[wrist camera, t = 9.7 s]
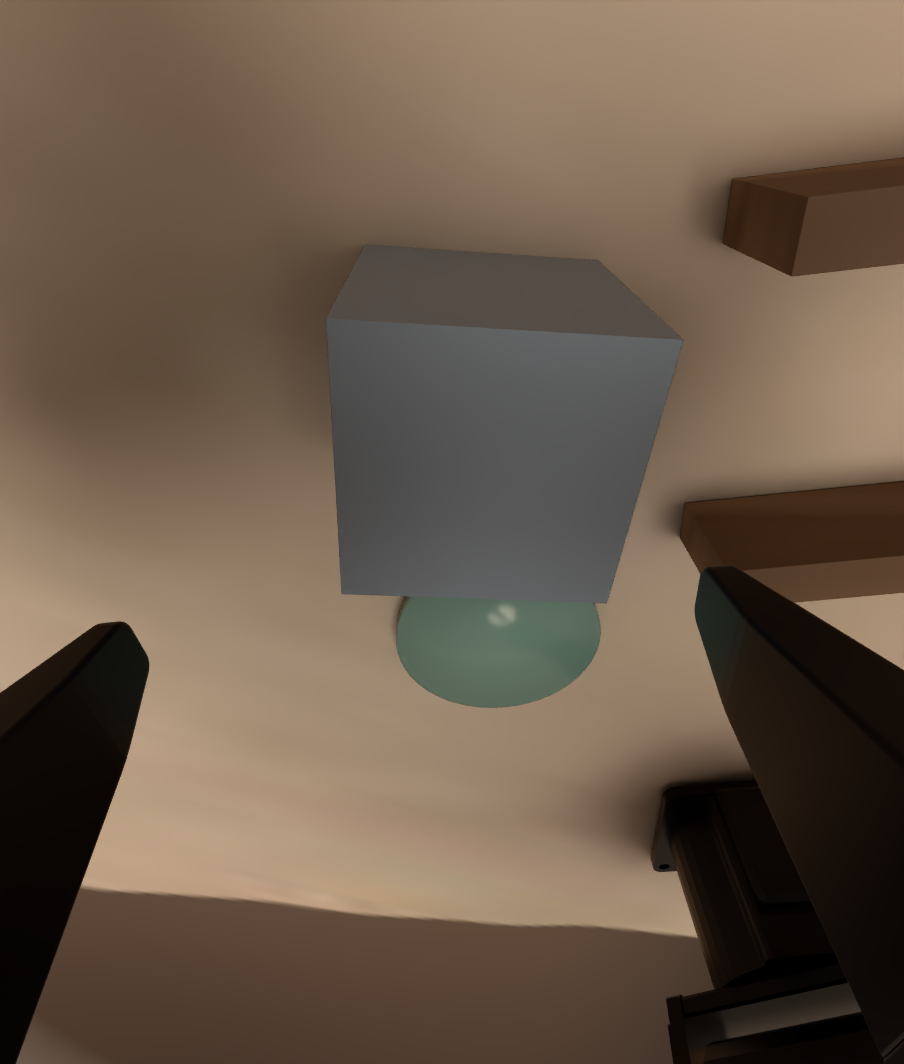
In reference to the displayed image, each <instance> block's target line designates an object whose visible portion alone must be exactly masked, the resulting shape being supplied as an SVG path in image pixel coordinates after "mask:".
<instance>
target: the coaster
mask: <svg viewBox="0 0 904 1064" xmlns="http://www.w3.org/2000/svg"><path fill="white" fill-rule="evenodd" d="M600 634H601V631H600V621H599V616H598V613H597V610H596V606H595V603H583V602H554V601H526V600H498V599H469V598H441V597H412V596H407V597H406V598H405V600H404V602H403V604H402V607H401V609H400V613H399V617H398V625H397V641H396V643H397V650H398V654H399V657H400V660H401V662H402V664H403V666H404V668H405V669H406V671H407V672H408V673H409V675H410V676H411V677H412V678H413V679H414V680H415V681H416V682H417V683H418V684H419V685H421V686H422V687H423V688H425V689H426V690H427V691H429V692H431V693H433V694H434V695H436V696H439V697H441V698H443V699H445V700H448V701H451V702H455V703H458V704H463V705H467V706H474V707H486V708H497V707H510V706H517V705H522V704H526V703H530V702H533V701H537V700H540V699H542V698H545V697H547V696H550V695H552V694H554V693H555V692H557V691H559V690H561V689H563V688H564V687H566V686H567V685H569V684H570V683H571V682H573V681H574V680H575V679H576V678H577V677H578V676H579V675H580V674H581V673H582V672H583V671H584V670H585V669H586V668H587V666H588V665H589V664H590V662H591V661H592V659H593V657H594V655H595V653H596V651H597V648H598V645H599V641H600Z"/></svg>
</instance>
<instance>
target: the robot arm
mask: <svg viewBox="0 0 904 1064" xmlns="http://www.w3.org/2000/svg"><path fill="white" fill-rule="evenodd" d="M695 618H696V623H697V626H698V629H699V632H700V635H701V638H702V642H703V645H704V648H705V651H706V654H707V657H708V660H709V663H710V667H711V670H712V673H713V676H714V679H715V682H716V685H717V689H718V692H719V695H720V698H721V701H722V704H723V706H724V709H725V712H726V714H727V717H728V719H729V721H730V724H731V726H732V728H733V730H734V733H735V735H736V737H737V739H738V741H739V744H740V746H741V748H742V750H743V752H744V755H745V757H746V759H747V761H748V763H749V766H750V768H751V770H752V772H753V774H754V777H755V779H756V780H755V781H743V782H730V783H717V784H704V785H691V786H678V787H671V788H669V789H667V790H665V791H664V792H663V794H662V800H661V805H660V811H659V816H658V822H657V827H656V833H655V838H654V844H653V849H652V855H651V862H652V865H653V869H654V870H655V871H658V872H669V871H677V872H678V876H679V879H680V882H681V885H682V888H683V892H684V895H685V898H686V901H687V904H688V907H689V911H690V914H691V917H692V920H693V923H694V927H695V930H696V933H697V936H698V939H699V942H700V945H701V949H702V952H703V955H704V958H705V961H706V964H707V968H708V971H709V974H710V977H711V980H712V984H713V987H714V990H710V991H706V992H702V993H697V994H693V995H689V996H684V997H683V996H682V995H680V994H679V995H675V996H671V997H667V998H666V1001H667V1008H668V1015H669V1021H670V1023H669V1024H668V1030H669V1036H670V1044H671V1050H672V1057H673V1064H904V670H903V669H901V668H899V667H898V666H896V665H895V664H893V663H891V662H890V661H888V660H886V659H885V658H883V657H882V656H880V655H878V654H877V653H875V652H873V651H872V650H870V649H869V648H867V647H865V646H864V645H862V644H860V643H859V642H857V641H856V640H854V639H852V638H851V637H849V636H847V635H846V634H844V633H843V632H841V631H839V630H838V629H836V628H834V627H833V626H831V625H830V624H828V623H826V622H825V621H823V620H821V619H820V618H818V617H817V616H815V615H813V614H812V613H810V612H808V611H807V610H805V609H804V608H802V607H800V606H799V605H797V604H795V603H794V602H792V601H791V600H789V599H787V598H786V597H784V596H782V595H781V594H779V593H778V592H776V591H774V590H773V589H771V588H769V587H768V586H766V585H765V584H763V583H761V582H760V581H758V580H756V579H755V578H753V577H752V576H750V575H748V574H747V573H745V572H743V571H742V570H740V569H739V568H737V567H735V566H733V565H718V566H708V567H705V568H704V569H703V570H702V572H701V575H700V580H699V586H698V591H697V597H696V602H695ZM148 673H149V660H148V656H147V654H146V652H145V651H144V649H143V647H142V646H141V644H140V642H139V640H138V639H137V637H136V635H135V634H134V632H133V630H132V629H131V627H130V626H129V625H128V624H127V623H125V622H120V621H119V622H109V623H101V624H97V625H95V626H93V627H92V628H91V629H89V630H88V631H86V632H85V633H84V634H82V635H81V636H79V637H78V638H77V639H75V640H74V641H72V642H71V643H70V644H68V645H67V646H65V647H64V648H63V649H61V650H60V651H58V652H57V653H56V654H54V655H53V656H51V657H50V658H49V659H47V660H46V661H44V662H43V663H42V664H40V665H39V666H37V667H36V668H35V669H33V670H32V671H30V672H29V673H28V674H26V675H25V676H23V677H22V678H21V679H19V680H18V681H16V682H15V683H14V684H12V685H11V686H9V687H8V688H6V689H5V690H4V691H2V692H1V693H0V1064H16V1062H17V1059H18V1056H19V1053H20V1051H21V1048H22V1045H23V1043H24V1040H25V1037H26V1034H27V1031H28V1029H29V1026H30V1023H31V1021H32V1018H33V1015H34V1012H35V1010H36V1007H37V1004H38V1001H39V998H40V996H41V993H42V990H43V988H44V985H45V982H46V980H47V977H48V974H49V971H50V969H51V965H52V963H53V960H54V957H55V955H56V952H57V949H58V947H59V944H60V941H61V938H62V936H63V933H64V930H65V927H66V925H67V922H68V919H69V916H70V914H71V911H72V908H73V906H74V903H75V900H76V897H77V895H78V892H79V889H80V886H81V884H82V881H83V878H84V875H85V873H86V870H87V867H88V864H89V862H90V859H91V856H92V853H93V851H94V848H95V845H96V843H97V840H98V837H99V834H100V832H101V829H102V826H103V823H104V821H105V818H106V815H107V812H108V810H109V807H110V804H111V801H112V799H113V796H114V793H115V790H116V788H117V785H118V782H119V780H120V777H121V774H122V771H123V768H124V765H125V762H126V759H127V755H128V752H129V749H130V745H131V741H132V737H133V733H134V729H135V725H136V721H137V717H138V713H139V709H140V705H141V701H142V697H143V693H144V689H145V685H146V681H147V677H148Z"/></svg>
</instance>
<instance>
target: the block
mask: <svg viewBox="0 0 904 1064" xmlns="http://www.w3.org/2000/svg"><path fill="white" fill-rule="evenodd" d="M326 327H327V345H328V362H329V380H330V398H331V415H332V433H333V451H334V468H335V486H336V504H337V521H338V539H339V557H340V574H341V592H342V594H356V595H384V596H412V597H441V598H469V599H498V600H526V601H554V602H583V603H607V601H608V598H609V594H610V591H611V587H612V584H613V581H614V577H615V574H616V570H617V567H618V563H619V560H620V556H621V553H622V550H623V546H624V543H625V539H626V536H627V532H628V529H629V526H630V522H631V519H632V515H633V512H634V508H635V505H636V502H637V498H638V495H639V491H640V488H641V484H642V481H643V478H644V474H645V471H646V467H647V464H648V460H649V457H650V454H651V450H652V447H653V443H654V440H655V436H656V433H657V430H658V426H659V423H660V419H661V416H662V412H663V409H664V406H665V402H666V399H667V395H668V392H669V388H670V385H671V382H672V378H673V375H674V371H675V368H676V364H677V361H678V358H679V354H680V351H681V347H682V344H683V339H682V338H681V337H680V336H679V335H678V334H677V333H676V332H675V331H673V330H672V329H671V328H670V327H669V326H668V325H667V324H666V323H665V322H664V321H663V320H662V319H661V318H660V317H658V316H657V315H656V314H655V313H654V312H653V311H652V310H651V309H650V308H649V307H648V306H647V305H646V304H645V303H643V302H642V301H641V300H640V299H639V298H638V297H637V296H636V295H635V294H634V293H633V292H632V291H631V290H630V289H628V288H627V287H626V286H625V285H624V284H623V283H622V282H621V281H620V280H619V279H618V278H617V277H616V276H615V275H613V274H612V273H611V272H610V271H609V270H608V269H607V268H606V267H605V266H604V265H603V264H602V263H601V262H599V261H598V260H586V259H571V258H556V257H542V256H527V255H512V254H497V253H482V252H468V251H453V250H438V249H423V248H408V247H394V246H379V245H365V246H364V248H363V250H362V252H361V254H360V255H359V257H358V259H357V261H356V263H355V265H354V267H353V269H352V271H351V272H350V274H349V276H348V278H347V280H346V282H345V284H344V286H343V287H342V289H341V291H340V293H339V295H338V297H337V299H336V301H335V302H334V304H333V306H332V308H331V310H330V312H329V314H328V316H327V317H326Z"/></svg>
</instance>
